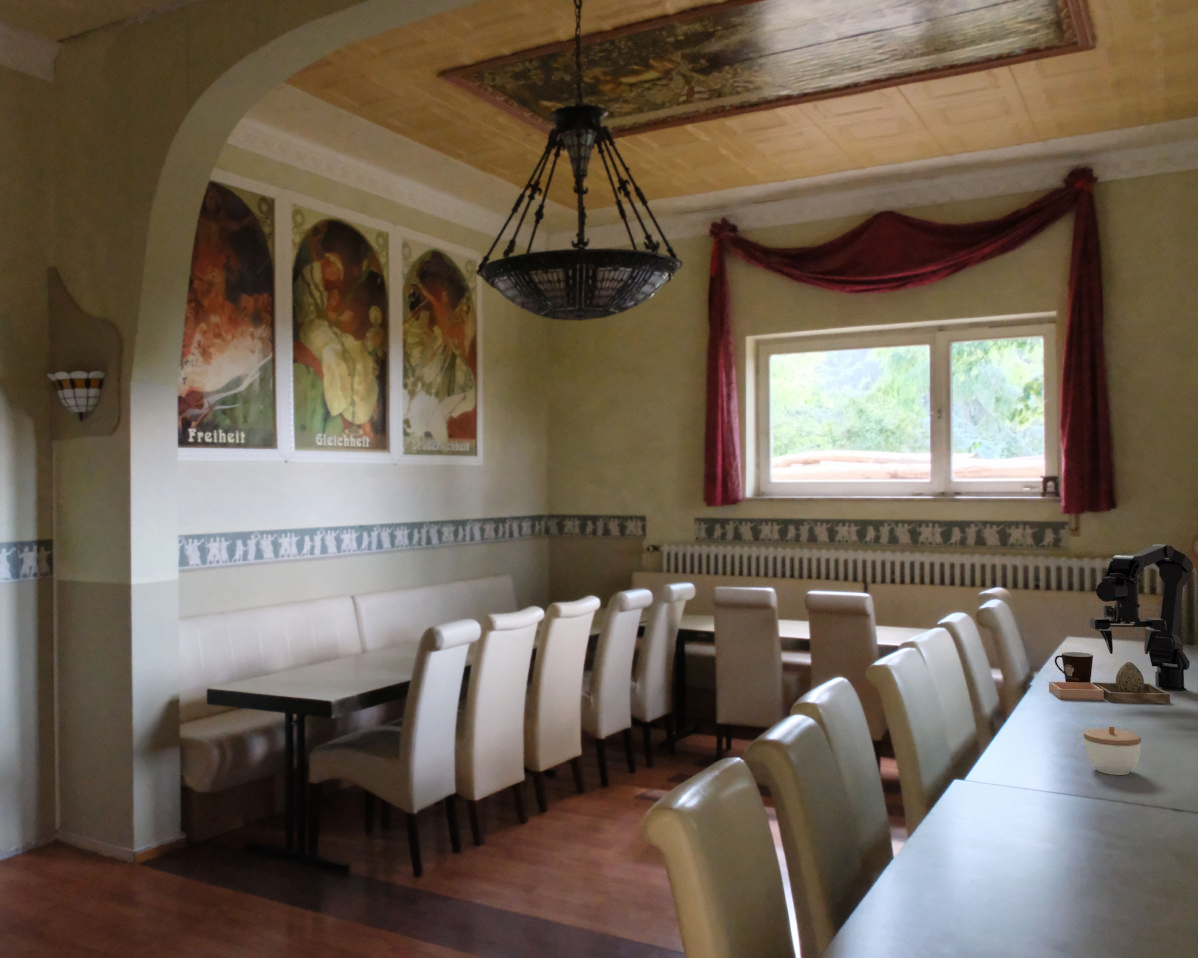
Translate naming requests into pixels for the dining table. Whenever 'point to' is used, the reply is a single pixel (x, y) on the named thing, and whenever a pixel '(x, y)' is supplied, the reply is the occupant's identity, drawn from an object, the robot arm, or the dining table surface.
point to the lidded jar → (1112, 750)
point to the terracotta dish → (1076, 690)
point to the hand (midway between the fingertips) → (1128, 653)
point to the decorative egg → (1129, 679)
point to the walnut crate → (1134, 694)
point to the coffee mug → (1076, 666)
